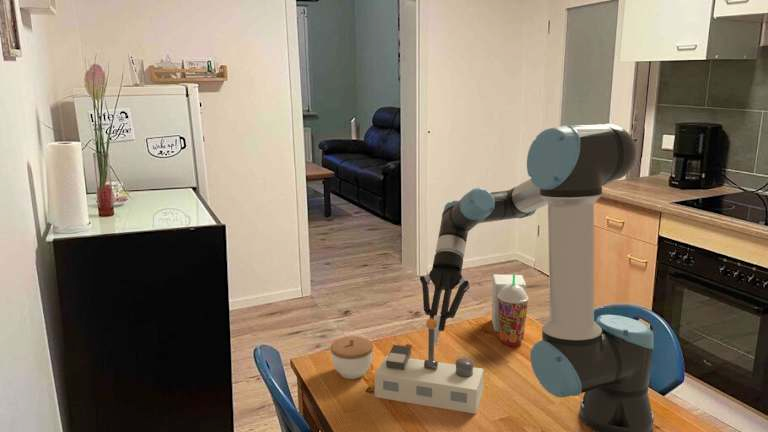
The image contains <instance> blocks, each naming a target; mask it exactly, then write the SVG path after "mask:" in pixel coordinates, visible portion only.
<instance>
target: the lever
mask: <svg viewBox="0 0 768 432" xmlns="http://www.w3.org/2000/svg"><path fill="white" fill-rule="evenodd" d="M425 326H426V328H427V329H428V351H427V352H428V353H427V354H428V355H427V356H428V357H427V358H428V359H424V360H425V362H424V367H425V368H431V369H437V368H438V362H439V361H436V360H435V345H434V329H435V328H436V326H437V321H436V320H435V319H434V318H430V317H429V318H427V320H426V323H425Z"/></svg>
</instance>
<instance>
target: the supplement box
mask: <svg viewBox="0 0 768 432" xmlns="http://www.w3.org/2000/svg"><path fill="white" fill-rule="evenodd" d="M492 275H493V276H492V277H493V278H492V299H491V302H492V304H491V306H492V307H491V322H492V326H493V332H499V316H498V294H499V293H500V291H501V289H502V288H503V287H504V286H506V285H508V284H512V281H513V275H515V284H517V285H520V286H521V287H522V288H523V289H524V290H525V292H526V293H527V283H526V281H525V279H524V276H523V275H522V274H497V273H496V274H492Z"/></svg>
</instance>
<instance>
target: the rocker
mask: <svg viewBox="0 0 768 432" xmlns="http://www.w3.org/2000/svg"><path fill="white" fill-rule="evenodd" d="M411 354H412V346H405V345H401V344H400V345H399V344H393V345H392V348H391V350H390V351H389V354H388V355H389V356H388V358H387V360H386V367H389V368H395V369H402V370H404V369H405V367H406V364H407V362H408V360H409V358H410V357H411Z"/></svg>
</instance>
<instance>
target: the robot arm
mask: <svg viewBox="0 0 768 432" xmlns="http://www.w3.org/2000/svg"><path fill="white" fill-rule="evenodd" d="M637 156H638V151H637V146H636V142H635V139H634V137H632V135H631V134H630V132H628V131H627V130H626V129H624V128H623V127H620V126H618V125H615V124H611V123H600V124H599V123H598V124H585V125H584V124H582V125H561V126H555V127H550V128H549V127H548V128H547V129H544V130H542V131H541V132H539V134H538V135H536V137H535V139H534V140H532V142H531V144H530V146H529V148H528V152H527V157H526V170H527V175H528V177H530V178H529V179H527V180H525V181H524V182H522V183H519V184H518V185H517V186H515V187H513V188H510V189H508V190H502V191H501V190H500V191H491V192H490V191H489V190H487V189H484V188H481V187H476V188H473V189H471V190H470V191H468V192H467V193H465V194H464V195H463V196H462V197H461V199H460V200H451V201H448V202H447V203H446V204H445V205H444V208H443V212H442V213H441V221H440V226H439V233H438V237H437V243H436V245H435V246H436V247H435V254H434V258H433V263H432V268H431V270H430V271H429V273H428V275H426V276H424V275H421V276H420V277H419V281H420V283H421V285H422V299H423V300H422V302H423V311H424V314H425V315H426V316H429V318H434V319H435V320H436V321H437V326H436V328H435V329H434V346H435V345H436V346H438V344H439V338H440V334H441V332H444V331H445V329H446V322H447V320H448V319H453V318H455V316H456V314H457V311H458V309H459V307H460V305H461V302H462V300H463V298H464V295H465V293H467V291H468V290H469V289H470V288H471V287H470V282H469V281H468V280H465V279H464V278H463V275H462V272H463V271H462V270H463V265H464V264H463V263H464V257H465V252H466V251H465V250H466V247H467V239H468V235H469V232H470V230H472V229H473V228H475V227H476V226H477V225H479V224H482V223H484V224H485V223H489V222H490V223H492V222H498V221H504V220H512V219H524V218H527V217H531V216H533V215H534V214H535V213H536V211H537V210H538V209H541V208H543V207H545V206H547V211H548V212H547V215H548V216H547V218H548V219H547V221H548V224H547V225H548V229H547V230H548V286H549V287H548V291H549V293H548V295H549V297H548V298H549V301H548V303H549V306H548V307H549V309H548V310H549V319H548V320H546V322H545V323H543V324H542V326H541V327H542V328H541V329H542V330H541V335H542V336H541V338H542V339H541V340H539V341H537V342H535V344H533V346H532V347H531V349H530V354H529V357H530V359H529V360H530V364H531V368H532V371H533V373H534V375H535V377H536V379H537V381H538V382H539V384H540V385H541V387H542V388H544V390H545V391H546V392H548V393H549V394H550V395H552V396H554V397H557V398H561V399H562V398H568V397H576V396H579V395H580V394H584V395H583V397H582V398H581V401H580V403H579V404H580V405H579V416H580V418H581V420H582V421H583V422H584V424H586V426H588V427H589V428H590V429H592V430H594V431H595V432H652V431H653V429H654V422H655V421H654V420H655V416H654V411H653V410H652V407H651V401H650V398H649V396H650V395H649V385H650V377H651V368H652V362H653V361H652V358H653V351H654V348H655V346H654V332H653V330H652V329H651V327H649V326H648V325H647V324H645V323H643V322H641V321H639V320H637V319H634V318H631V317H628V316H624V315H617V314H601V315H599V316H597V317H596V320H595V267H594V266H595V263H594V262H595V261H594V260H595V254H594V253H595V247H594V246H595V243H594V242H595V238H594V237H595V232H594V231H595V223H594V221H595V220H594V218H595V216H594V215H595V213H594V212H595V210H594V209H595V208H594V207H595V206H594V204H596V201H598V200H599V199H600V198H601V197H602V196H603V186H604V185H607V184H609V183H611V182H614V181H617V180H620V179H623V178H624V177H625V176H627V175H628V174H629V172H631V170H632V169H633V168H634V165H635V163H636V161H637ZM430 282H432V284H433V287H434V292H433V297H432V303H430V291H429V285H430ZM457 286H459V287H458V289H457V291H456V293H455V296H454V298H453V301H452V303H451V302H450V301H451V296H452V292H453V290H454V289H455V288H456V287H457ZM443 291H444V294H443V293H442V292H443ZM442 294H443V297H442V298H443V299H442V304H441V310H440V312H439V314H440V315H439V314H438V310H439V305H440V301H441V300H440V299H441V295H442ZM450 303H451V305H450ZM430 304H431V306H430Z"/></svg>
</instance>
